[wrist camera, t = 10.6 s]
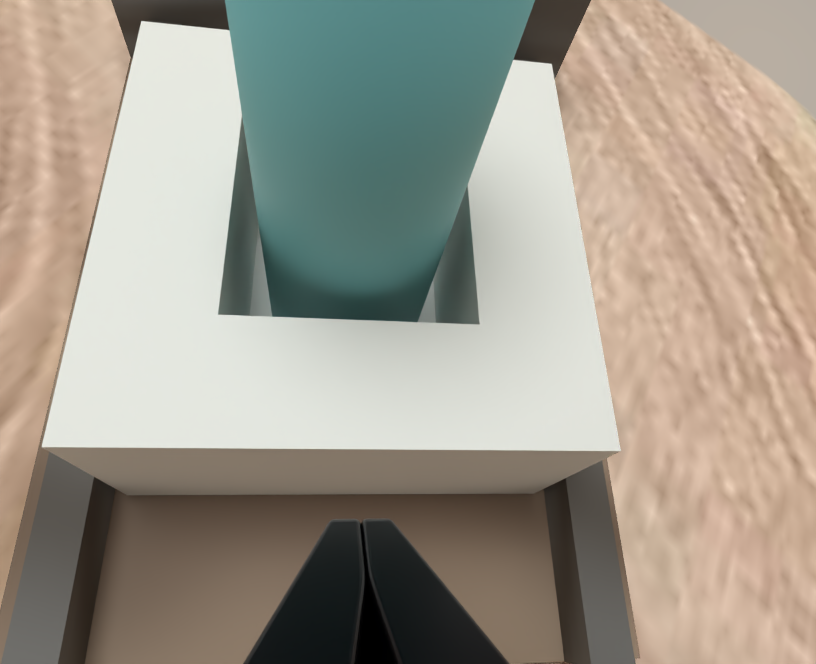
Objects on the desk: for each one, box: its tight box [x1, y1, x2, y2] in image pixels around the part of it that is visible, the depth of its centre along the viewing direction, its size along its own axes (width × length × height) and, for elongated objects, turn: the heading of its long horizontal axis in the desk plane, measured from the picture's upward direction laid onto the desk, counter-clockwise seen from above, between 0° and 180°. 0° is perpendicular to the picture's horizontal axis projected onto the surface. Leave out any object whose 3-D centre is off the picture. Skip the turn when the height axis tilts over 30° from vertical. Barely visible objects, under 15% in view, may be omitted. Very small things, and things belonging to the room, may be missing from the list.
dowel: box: [225, 0, 535, 322], centre depth 10 cm, size 4×4×13 cm
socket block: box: [42, 21, 621, 495], centre depth 14 cm, size 10×10×5 cm
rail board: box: [0, 0, 640, 664], centre depth 15 cm, size 20×14×7 cm
